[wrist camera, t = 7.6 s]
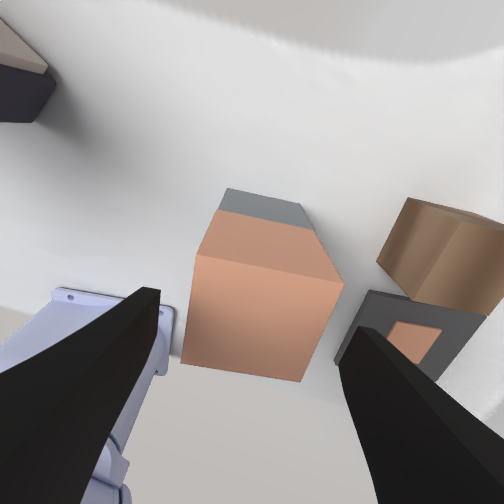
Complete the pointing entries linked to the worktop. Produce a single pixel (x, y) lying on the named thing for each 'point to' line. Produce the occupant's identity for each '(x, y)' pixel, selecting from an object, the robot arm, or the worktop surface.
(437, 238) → the walnut block
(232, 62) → the worktop surface
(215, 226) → the terracotta block
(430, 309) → the board
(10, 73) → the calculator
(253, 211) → the slate block
